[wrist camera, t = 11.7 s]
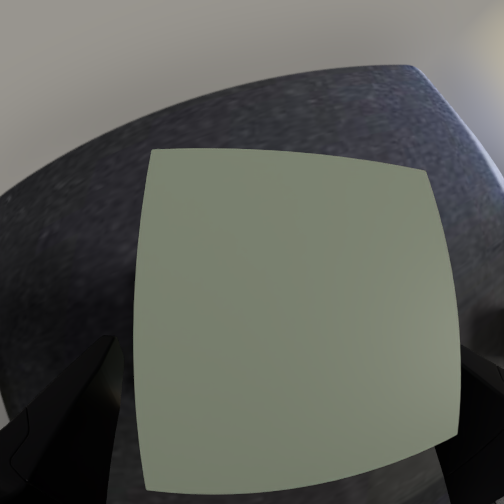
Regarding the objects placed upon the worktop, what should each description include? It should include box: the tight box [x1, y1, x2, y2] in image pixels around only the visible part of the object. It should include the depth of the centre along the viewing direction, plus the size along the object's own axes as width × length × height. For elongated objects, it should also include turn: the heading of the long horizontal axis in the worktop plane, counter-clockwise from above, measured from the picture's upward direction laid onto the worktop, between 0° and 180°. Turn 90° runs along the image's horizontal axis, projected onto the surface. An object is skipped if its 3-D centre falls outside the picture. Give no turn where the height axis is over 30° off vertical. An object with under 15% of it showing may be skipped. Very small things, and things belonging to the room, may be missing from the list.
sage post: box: [133, 148, 461, 494], centre depth 10 cm, size 5×5×13 cm
